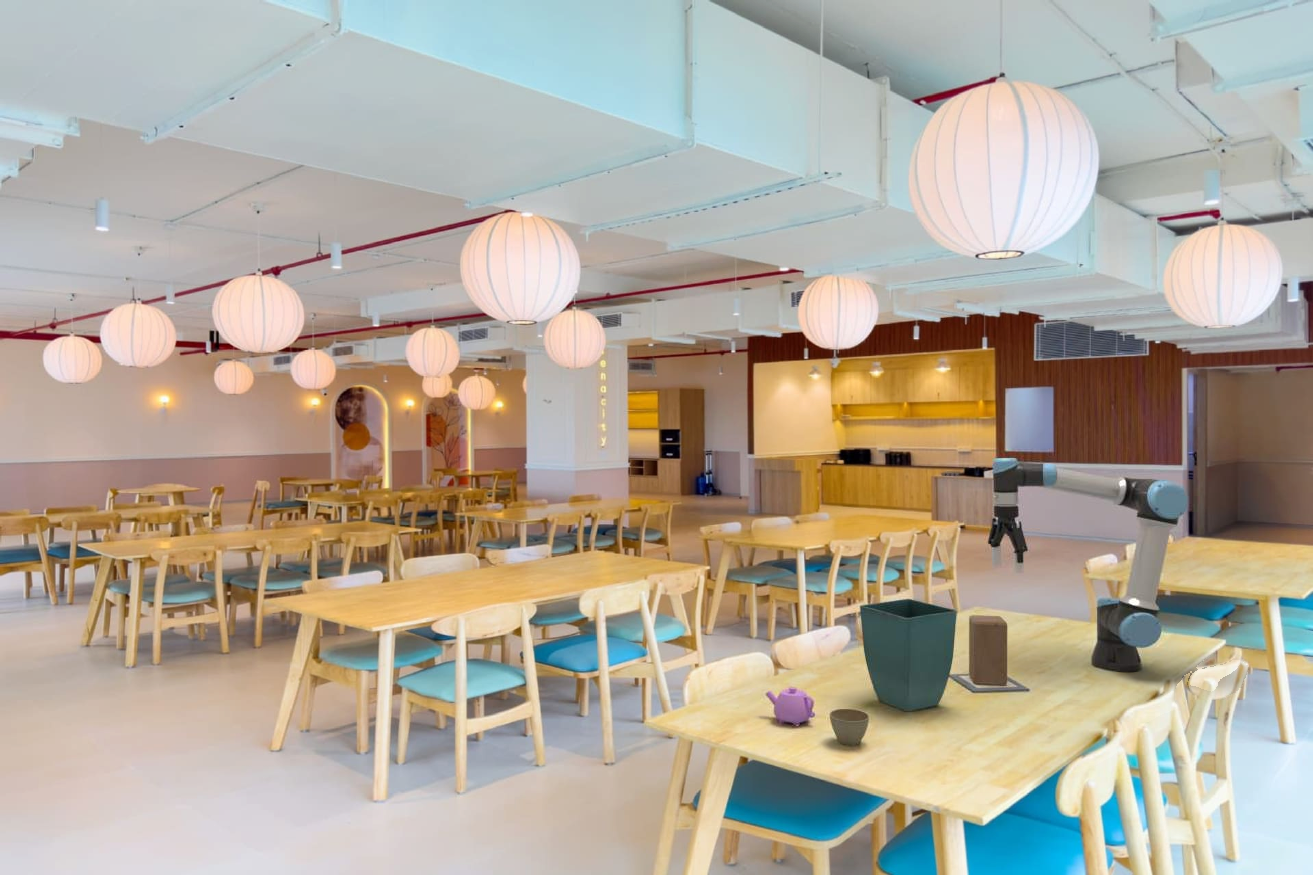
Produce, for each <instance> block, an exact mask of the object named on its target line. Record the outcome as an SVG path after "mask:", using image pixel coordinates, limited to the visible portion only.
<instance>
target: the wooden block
mask: <svg viewBox="0 0 1313 875" xmlns="http://www.w3.org/2000/svg"><path fill="white" fill-rule="evenodd" d="M968 637H969V638H968V641H969V642H968V674H969V675H970V677H971V678H972V680H973V682H974V683H975V684H982V685H1002V686H1004V685H1006V684H1007V677H1008V623H1007V622H1006V620H1005V619H1003V617H1001V616H999V615H983V614H981V615H978V614H976V615H975V614H971V615H970V616H968Z"/></svg>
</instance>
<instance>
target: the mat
mask: <svg viewBox="0 0 1313 875" xmlns="http://www.w3.org/2000/svg"><path fill="white" fill-rule="evenodd" d="M949 678H950V679H951V680H953V681H955V682H956V683H958V684H960V685H961V686H962V687H964V688H965V689H967V690H968V691H970V692H971V693H973V694H976V693H977V694H979V693H1006V692H1007V693H1009V692H1010V693H1012V692H1030V691H1031V689H1030V688H1028V687H1027V686H1025V685H1023V684H1021V683H1019V682H1018V681H1016V680H1014V679H1013V678H1011V677H1009V676H1007V684H1006V685H1004V686H1002V685H982V684H975V683H974V682H973V680H972V678H971V677H970V675H969V673H953V674H951V673H950V674H949Z"/></svg>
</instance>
